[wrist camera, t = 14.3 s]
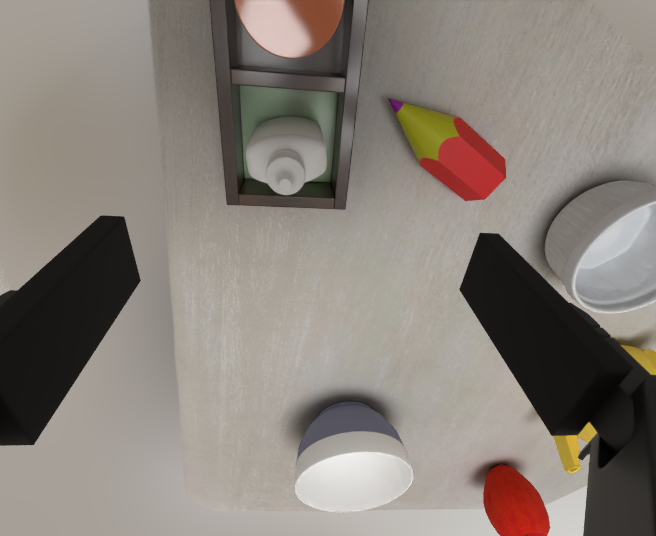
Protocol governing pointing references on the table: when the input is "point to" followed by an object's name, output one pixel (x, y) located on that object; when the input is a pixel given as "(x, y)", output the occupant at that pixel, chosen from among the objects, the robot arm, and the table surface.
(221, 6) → the divided wooden box
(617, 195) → the ramekin
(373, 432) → the bowl
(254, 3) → the glossy orange cylinder
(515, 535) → the apple
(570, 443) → the teapot
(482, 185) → the pencil
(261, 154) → the eye dropper bottle
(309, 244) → the table surface
